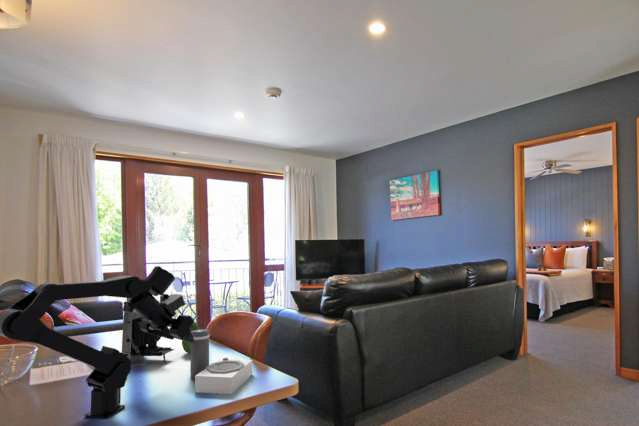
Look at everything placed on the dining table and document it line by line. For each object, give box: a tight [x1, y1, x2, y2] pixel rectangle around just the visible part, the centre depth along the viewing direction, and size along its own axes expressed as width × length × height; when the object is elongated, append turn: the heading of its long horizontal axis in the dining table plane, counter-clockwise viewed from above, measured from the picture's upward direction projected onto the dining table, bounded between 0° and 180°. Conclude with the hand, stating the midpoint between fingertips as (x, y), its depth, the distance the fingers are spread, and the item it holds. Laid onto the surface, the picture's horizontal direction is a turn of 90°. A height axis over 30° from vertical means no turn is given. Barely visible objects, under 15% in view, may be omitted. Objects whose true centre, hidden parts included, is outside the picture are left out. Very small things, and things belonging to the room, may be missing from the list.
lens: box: [190, 328, 211, 381], centre depth 119 cm, size 6×6×14 cm
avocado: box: [181, 321, 201, 354], centre depth 146 cm, size 8×8×12 cm
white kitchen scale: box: [194, 357, 254, 395], centre depth 113 cm, size 16×11×5 cm
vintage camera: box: [121, 310, 175, 363], centre depth 137 cm, size 10×15×20 cm, turn 78°
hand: (183, 339), depth 114 cm, fingers open, 9 cm apart
